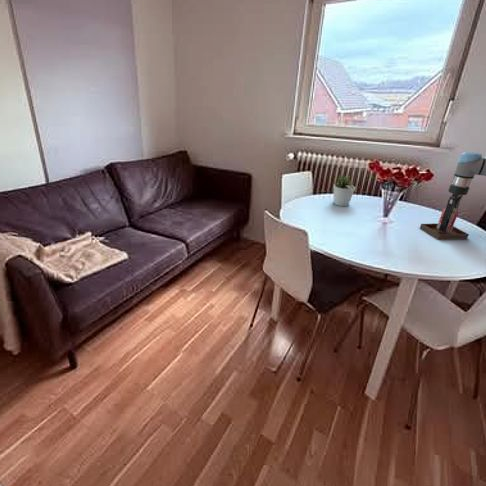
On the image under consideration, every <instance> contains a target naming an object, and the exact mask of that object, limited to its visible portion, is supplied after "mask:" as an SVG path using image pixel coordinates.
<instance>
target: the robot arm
mask: <svg viewBox="0 0 486 486" xmlns="http://www.w3.org/2000/svg"><path fill="white" fill-rule="evenodd" d="M475 176H482V177H483V176H484V177H486V156H485V157H483V154H482V153H480V152H475V151H464V152H462V153H461V155H460V156H459V160H458V161H457V165H456V167H455V170H454V174H453V176H451V179H452V180H451V184H449V188H448V192H449V193H450V194H451V195H450V196H449V198H448V200H447V204H446V206H445V207H446V209H445V208H444V209H445V211H444V214H443V216H442V217H441V216H440V217H441V218H443V219H442V222H441V225H440V228H439V230H440V231H443V232H445V231H446V228H447V226H448V223H449V219H450V216H451V214H452V212H453V209H454V208H456V209H459V206H460V204H461V200H462V199H463V196H466V195H468V194H469V191H470V189H471V188H470V187H471V186H472V184H473V181H474V179H475Z"/></svg>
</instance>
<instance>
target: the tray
mask: <svg viewBox="0 0 486 486" xmlns="http://www.w3.org/2000/svg"><path fill="white" fill-rule="evenodd" d="M437 225H438V223H420V226H419V229H420V230H422V231H423V232H425V233H426V234H428V235H430V236H431V237H433V238H435V239H436V240H438V241H439V240H467V239H468V238H469V235H470V234H469V233H467V232H465V231H464V230H462V229H460V228H458V227H456V226H454V225H453V228H452V231H451V232H442V231H440V230H438V229H437Z"/></svg>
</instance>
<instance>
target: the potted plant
mask: <svg viewBox="0 0 486 486" xmlns="http://www.w3.org/2000/svg"><path fill="white" fill-rule="evenodd" d="M350 177H351V175H350V174H349V175H348V176H347V175H345V174H340V175H338V178H337V177H336V179H337V180H336V183H335V182H333V181H331V183H332V185H333V204H334V205H336V206H340V207H347V206H349V204H350V202H351V200H352V197H353V195H354V192H355V191H356V186H354V184H355V182H354V181H351V179H350Z"/></svg>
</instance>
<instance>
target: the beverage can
mask: <svg viewBox="0 0 486 486" xmlns="http://www.w3.org/2000/svg"><path fill="white" fill-rule="evenodd" d="M445 209H446V206H445V207H444V208H443V209H442V211H441V214H440V216H439V220H438V221H437V222H438V223H437V224H438V225H437V229H438V230H439V228H440V225H441V222H442V219H443V218H441V217H442V216H443V214H444V211H445ZM458 209H459V208H458ZM458 209H456V208H454V209H453V212H452V214H451V216H450V219H449V223H448V226H447V228H446V231H445V232H451V231H452V228H453V226H454V225H455V222H456V220H457V217H458V214H459V211H458ZM442 232H443V231H442Z"/></svg>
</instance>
